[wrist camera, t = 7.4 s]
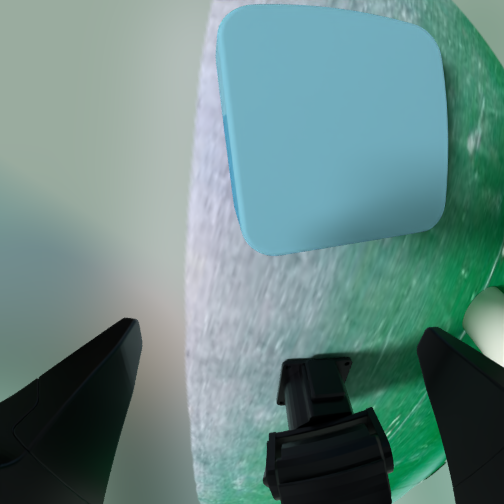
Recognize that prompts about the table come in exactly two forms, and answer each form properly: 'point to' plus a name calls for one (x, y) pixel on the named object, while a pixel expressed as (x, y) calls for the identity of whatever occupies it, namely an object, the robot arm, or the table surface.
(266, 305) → the table surface
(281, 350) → the table surface
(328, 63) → the light blue rounded block
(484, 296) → the white rounded cylinder
